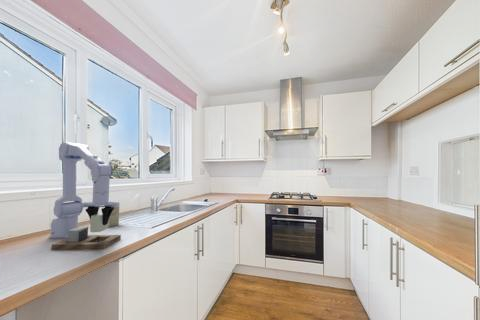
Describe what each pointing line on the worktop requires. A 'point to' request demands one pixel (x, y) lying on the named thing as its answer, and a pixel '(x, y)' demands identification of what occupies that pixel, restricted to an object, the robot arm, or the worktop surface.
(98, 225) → the block
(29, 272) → the worktop surface
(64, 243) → the brown wooden frame
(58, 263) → the worktop surface
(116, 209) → the skincare box
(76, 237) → the grey block
